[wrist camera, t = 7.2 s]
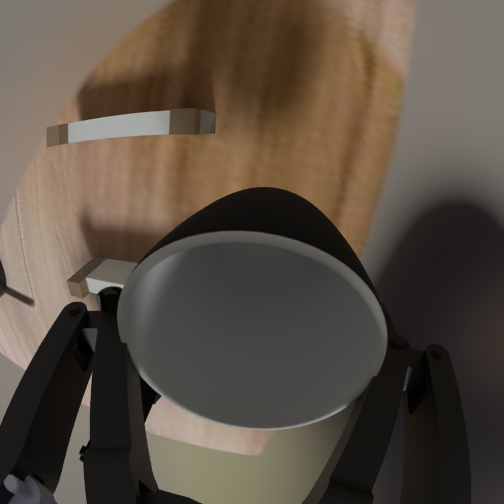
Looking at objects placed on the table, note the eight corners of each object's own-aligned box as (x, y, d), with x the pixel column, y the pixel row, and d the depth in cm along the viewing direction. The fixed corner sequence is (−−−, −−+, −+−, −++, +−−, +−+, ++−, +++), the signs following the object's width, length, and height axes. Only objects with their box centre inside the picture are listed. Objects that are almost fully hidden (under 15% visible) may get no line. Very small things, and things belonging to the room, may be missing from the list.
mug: (172, 211, 17) (72, 299, 8) (301, 143, 14) (328, 160, 5) (260, 344, 21) (242, 460, 12) (370, 303, 18) (409, 424, 9)
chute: (98, 269, 32) (71, 295, 27) (84, 123, 24) (46, 127, 19) (211, 287, 31) (196, 322, 26) (215, 113, 23) (195, 108, 17)
